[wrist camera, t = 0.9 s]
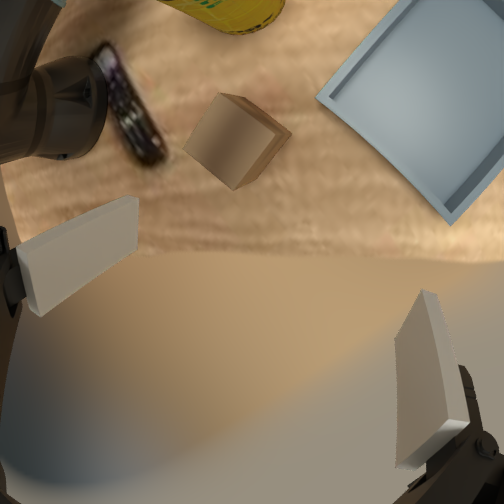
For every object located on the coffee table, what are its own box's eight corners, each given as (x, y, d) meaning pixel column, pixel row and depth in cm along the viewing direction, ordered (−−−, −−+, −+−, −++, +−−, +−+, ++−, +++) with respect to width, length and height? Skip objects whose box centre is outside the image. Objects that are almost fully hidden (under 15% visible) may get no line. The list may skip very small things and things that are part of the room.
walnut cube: (212, 143, 31) (182, 148, 26) (244, 97, 28) (218, 92, 23) (256, 179, 31) (233, 191, 26) (292, 133, 28) (275, 134, 23)
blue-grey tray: (320, 101, 26) (314, 97, 23) (441, -35, 15) (448, -51, 12) (440, 214, 26) (450, 226, 23) (552, 76, 15) (570, 73, 12)
